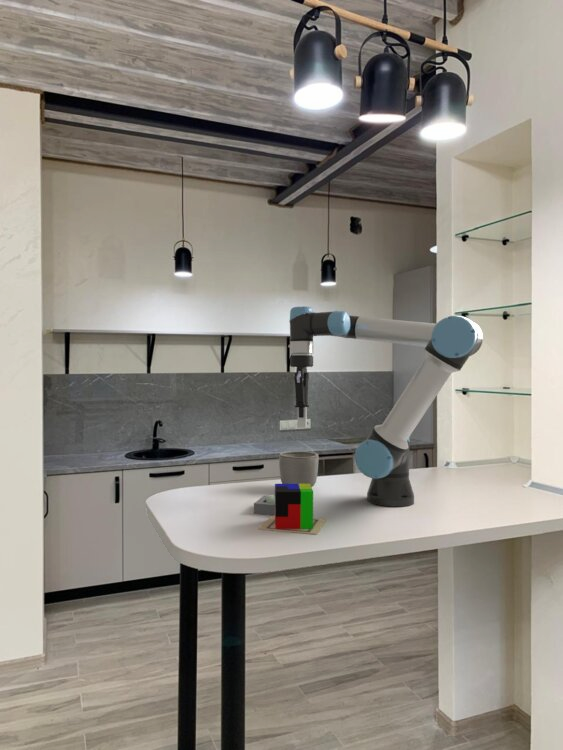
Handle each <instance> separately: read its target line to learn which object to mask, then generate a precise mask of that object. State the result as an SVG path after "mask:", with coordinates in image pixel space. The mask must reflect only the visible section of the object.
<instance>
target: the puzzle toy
mask: <svg viewBox="0 0 563 750" xmlns="http://www.w3.org/2000/svg"><path fill="white" fill-rule="evenodd" d="M274 496H275V515H274V516H275V528H276V529H313V519H314V490H313V487H311V485H310V484H282V483H275V484H274Z"/></svg>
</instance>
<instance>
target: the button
mask: <svg viewBox="0 0 563 750" xmlns="http://www.w3.org/2000/svg"><path fill="white" fill-rule="evenodd" d="M271 496H272V495H271ZM266 503H275V495H273V496H272V497H267V498H266Z"/></svg>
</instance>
